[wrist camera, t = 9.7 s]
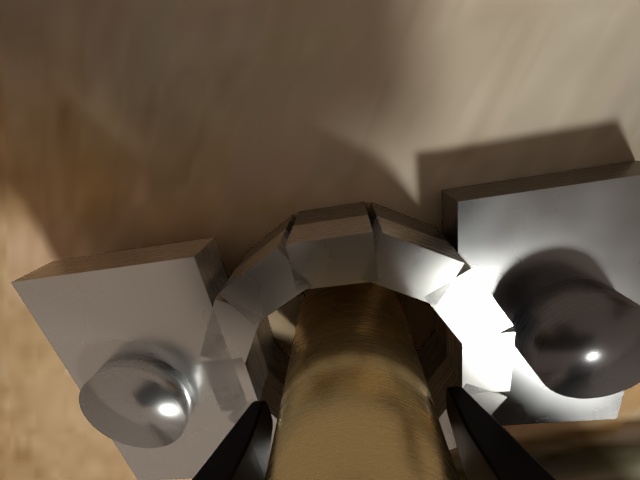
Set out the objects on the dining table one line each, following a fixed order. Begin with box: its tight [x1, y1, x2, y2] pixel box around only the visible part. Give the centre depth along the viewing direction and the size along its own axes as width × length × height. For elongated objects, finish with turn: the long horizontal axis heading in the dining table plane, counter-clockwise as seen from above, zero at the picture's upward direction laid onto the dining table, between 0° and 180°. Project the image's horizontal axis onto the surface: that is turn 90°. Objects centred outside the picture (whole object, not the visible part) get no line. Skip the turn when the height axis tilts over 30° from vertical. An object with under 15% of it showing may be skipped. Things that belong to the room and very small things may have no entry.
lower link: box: [236, 161, 640, 425], centre depth 11 cm, size 15×10×3 cm, turn 100°
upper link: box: [11, 215, 515, 480], centre depth 11 cm, size 15×10×4 cm, turn 100°
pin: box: [265, 282, 459, 480], centre depth 9 cm, size 4×4×9 cm
